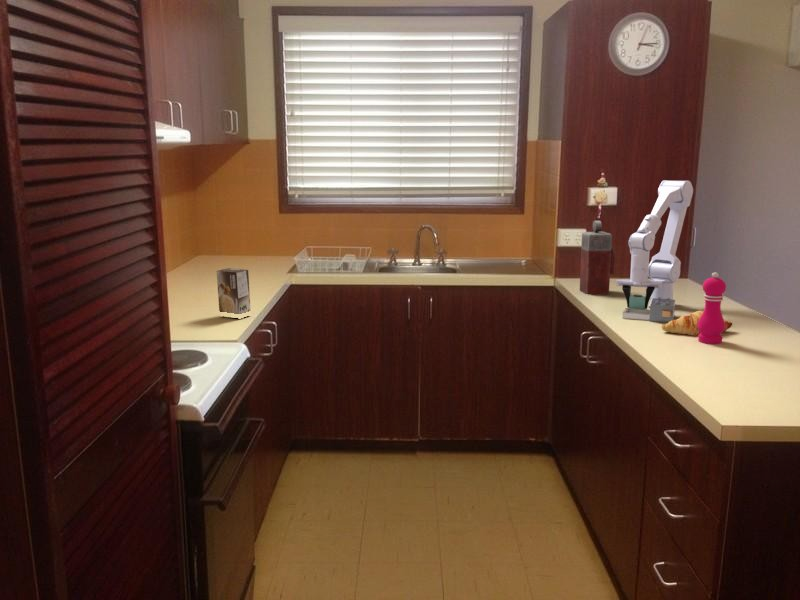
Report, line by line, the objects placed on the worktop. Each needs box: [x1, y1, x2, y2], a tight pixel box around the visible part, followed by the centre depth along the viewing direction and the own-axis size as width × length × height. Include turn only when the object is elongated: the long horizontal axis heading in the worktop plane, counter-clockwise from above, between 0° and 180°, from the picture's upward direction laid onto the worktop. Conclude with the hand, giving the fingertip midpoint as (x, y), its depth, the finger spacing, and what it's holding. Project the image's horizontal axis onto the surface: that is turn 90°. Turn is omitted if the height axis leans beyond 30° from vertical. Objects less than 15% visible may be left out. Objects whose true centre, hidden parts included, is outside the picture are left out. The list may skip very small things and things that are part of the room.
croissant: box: [661, 310, 733, 336], centre depth 213 cm, size 21×10×8 cm, turn 93°
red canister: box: [579, 220, 616, 295], centre depth 275 cm, size 9×11×28 cm
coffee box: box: [216, 267, 252, 314], centre depth 238 cm, size 9×6×16 cm
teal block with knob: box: [629, 293, 646, 309], centre depth 241 cm, size 5×5×6 cm
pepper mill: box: [697, 271, 727, 345], centre depth 200 cm, size 7×7×20 cm
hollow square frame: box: [621, 297, 676, 323], centre depth 232 cm, size 12×16×6 cm
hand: (637, 307), depth 241 cm, fingers closed on teal block with knob, 5 cm apart
